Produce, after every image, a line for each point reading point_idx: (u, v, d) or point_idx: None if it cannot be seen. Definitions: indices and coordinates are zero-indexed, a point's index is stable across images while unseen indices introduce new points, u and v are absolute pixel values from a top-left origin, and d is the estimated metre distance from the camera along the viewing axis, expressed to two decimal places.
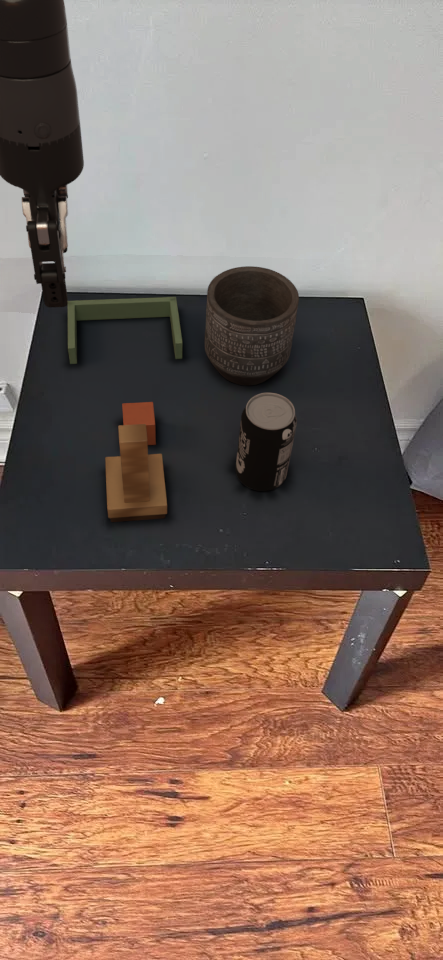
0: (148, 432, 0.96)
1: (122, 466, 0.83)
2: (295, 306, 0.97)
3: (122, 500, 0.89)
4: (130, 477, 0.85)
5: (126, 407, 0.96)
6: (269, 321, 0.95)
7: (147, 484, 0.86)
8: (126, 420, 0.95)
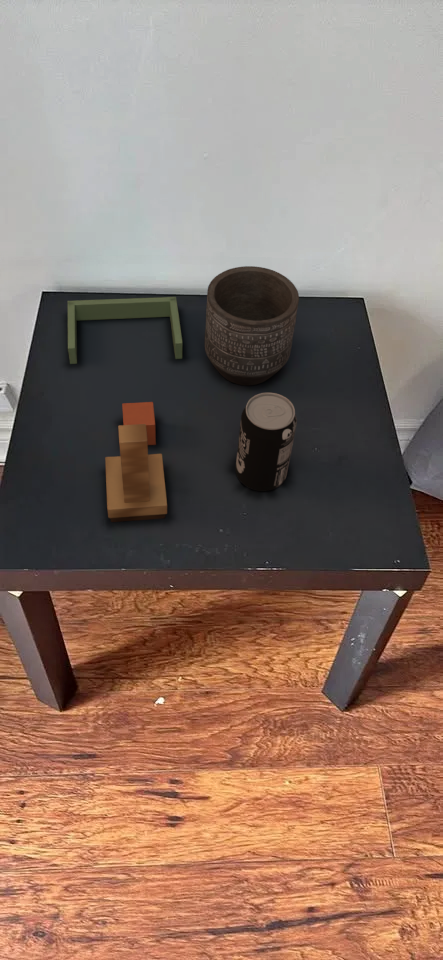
0: (148, 432, 0.96)
1: (122, 466, 0.83)
2: (295, 306, 0.97)
3: (122, 500, 0.89)
4: (130, 477, 0.85)
5: (126, 407, 0.96)
6: (269, 321, 0.95)
7: (147, 484, 0.86)
8: (126, 420, 0.95)
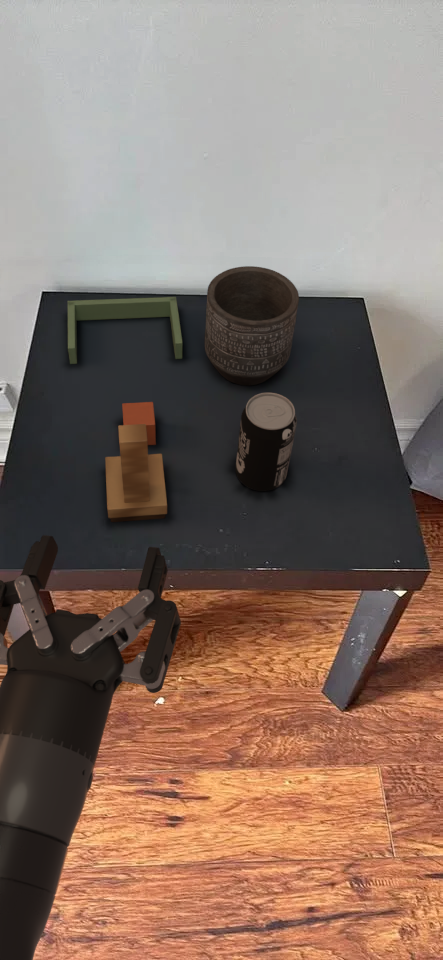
0: (148, 432, 0.96)
1: (122, 466, 0.83)
2: (295, 306, 0.97)
3: (122, 500, 0.89)
4: (130, 477, 0.85)
5: (126, 407, 0.96)
6: (269, 321, 0.95)
7: (147, 484, 0.86)
8: (126, 420, 0.95)
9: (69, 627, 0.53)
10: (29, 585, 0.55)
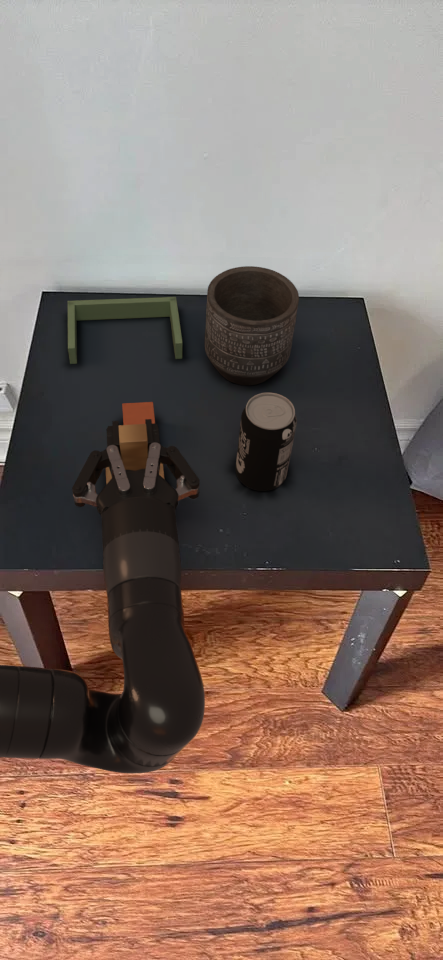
0: None
1: None
2: (295, 306, 0.97)
3: None
4: None
5: (126, 407, 0.96)
6: (269, 321, 0.95)
7: None
8: (126, 420, 0.95)
9: (134, 478, 0.78)
10: (118, 450, 0.80)
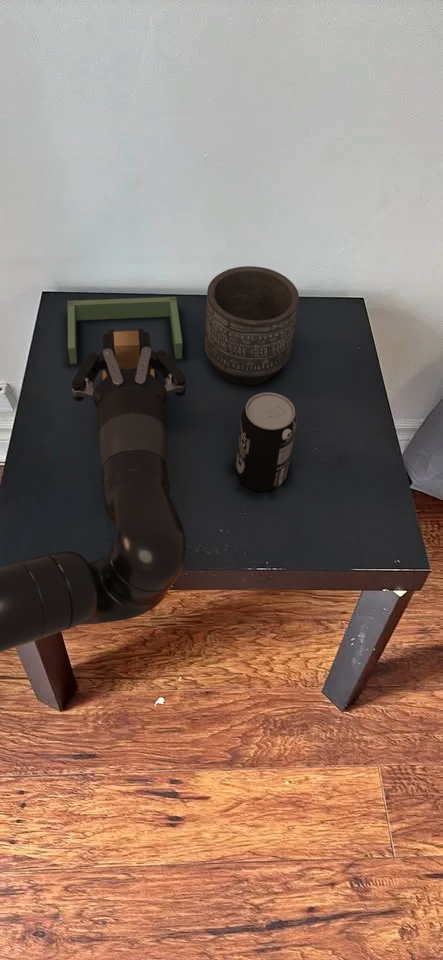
0: None
1: None
2: (295, 306, 0.97)
3: None
4: None
5: None
6: (269, 321, 0.95)
7: None
8: None
9: (127, 375, 0.87)
10: (113, 352, 0.89)
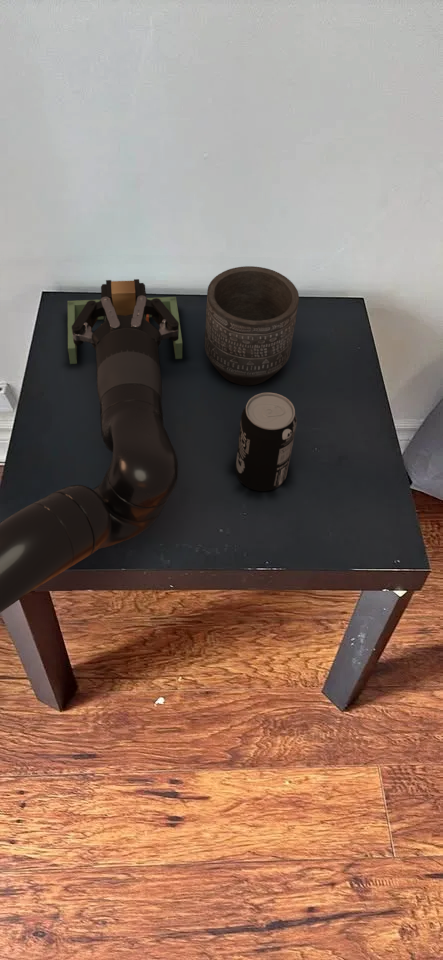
0: None
1: None
2: (295, 306, 0.97)
3: None
4: None
5: None
6: (269, 321, 0.95)
7: None
8: None
9: (124, 320, 0.93)
10: (110, 300, 0.95)
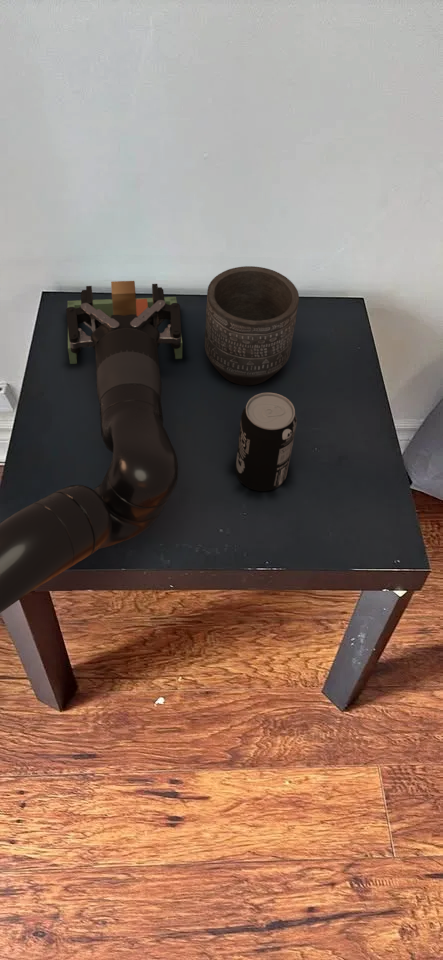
0: None
1: None
2: (295, 306, 0.97)
3: None
4: None
5: None
6: (269, 321, 0.95)
7: None
8: None
9: (123, 320, 0.93)
10: (90, 306, 0.94)
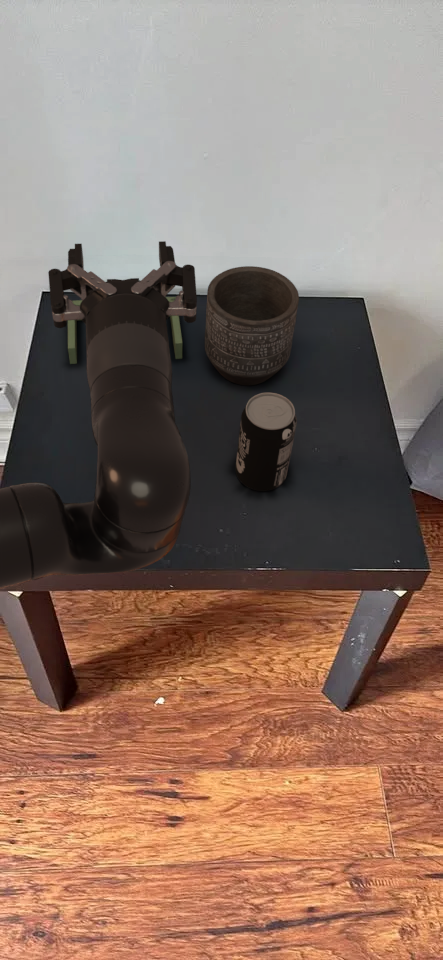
0: None
1: None
2: (295, 306, 0.97)
3: None
4: None
5: None
6: (269, 321, 0.95)
7: None
8: None
9: (122, 286, 0.72)
10: (80, 268, 0.73)
